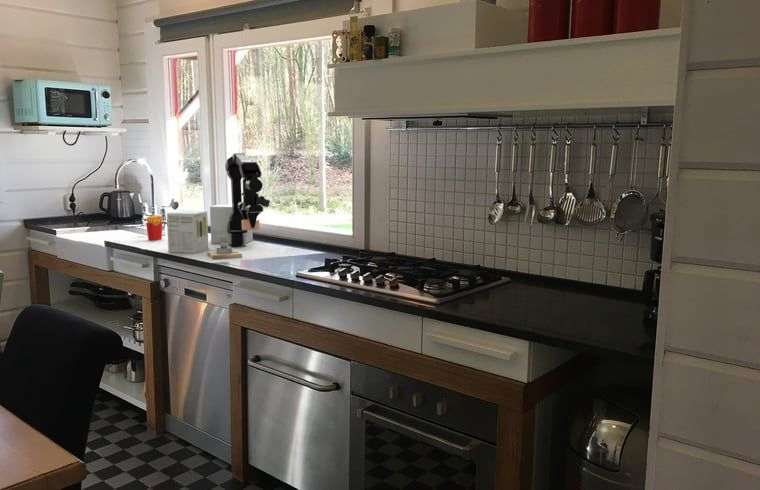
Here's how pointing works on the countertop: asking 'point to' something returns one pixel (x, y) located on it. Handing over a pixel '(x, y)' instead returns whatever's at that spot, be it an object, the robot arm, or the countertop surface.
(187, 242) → the supplement box
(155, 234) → the french fries
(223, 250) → the post stand
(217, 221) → the supplement box
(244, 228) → the ring
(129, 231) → the countertop surface
